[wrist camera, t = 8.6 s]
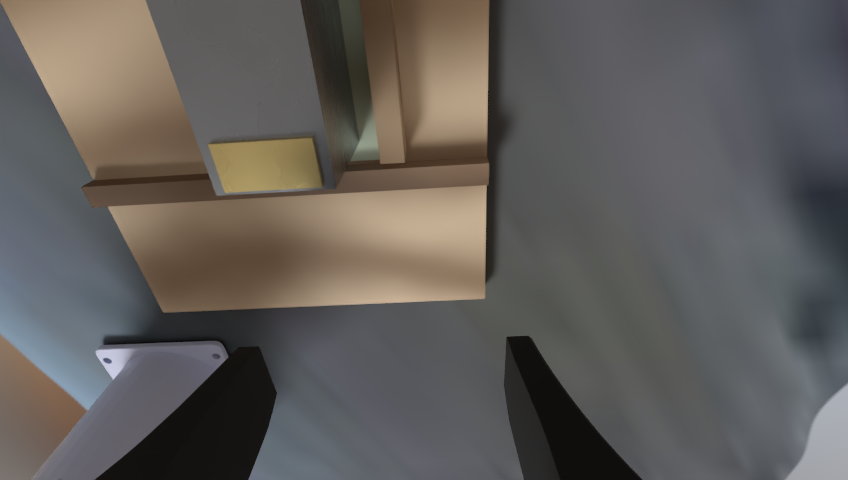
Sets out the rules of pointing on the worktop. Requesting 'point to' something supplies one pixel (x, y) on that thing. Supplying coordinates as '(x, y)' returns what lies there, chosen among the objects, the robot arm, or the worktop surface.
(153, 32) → the board
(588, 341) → the worktop surface
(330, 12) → the bar
